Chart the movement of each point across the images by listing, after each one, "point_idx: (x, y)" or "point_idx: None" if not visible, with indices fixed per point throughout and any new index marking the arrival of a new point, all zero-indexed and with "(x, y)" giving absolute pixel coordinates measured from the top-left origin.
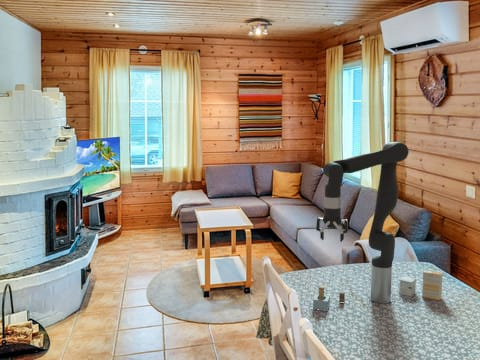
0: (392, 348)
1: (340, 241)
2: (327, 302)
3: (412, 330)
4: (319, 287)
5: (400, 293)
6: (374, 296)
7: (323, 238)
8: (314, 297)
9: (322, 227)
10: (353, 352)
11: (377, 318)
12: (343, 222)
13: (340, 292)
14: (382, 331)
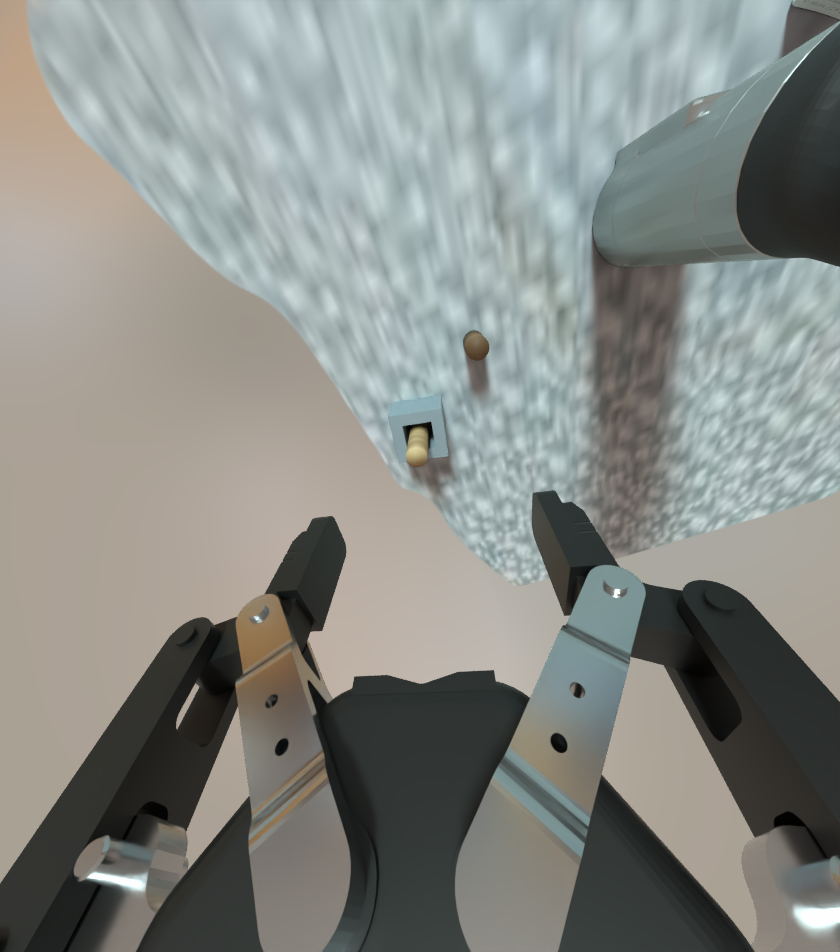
0: (629, 535)
1: (534, 528)
2: (447, 454)
3: (709, 439)
4: (410, 462)
5: (800, 6)
6: (621, 261)
7: (336, 540)
8: (396, 446)
9: (249, 665)
10: (545, 572)
11: (608, 411)
12: (789, 931)
13: (469, 342)
14: (615, 478)
